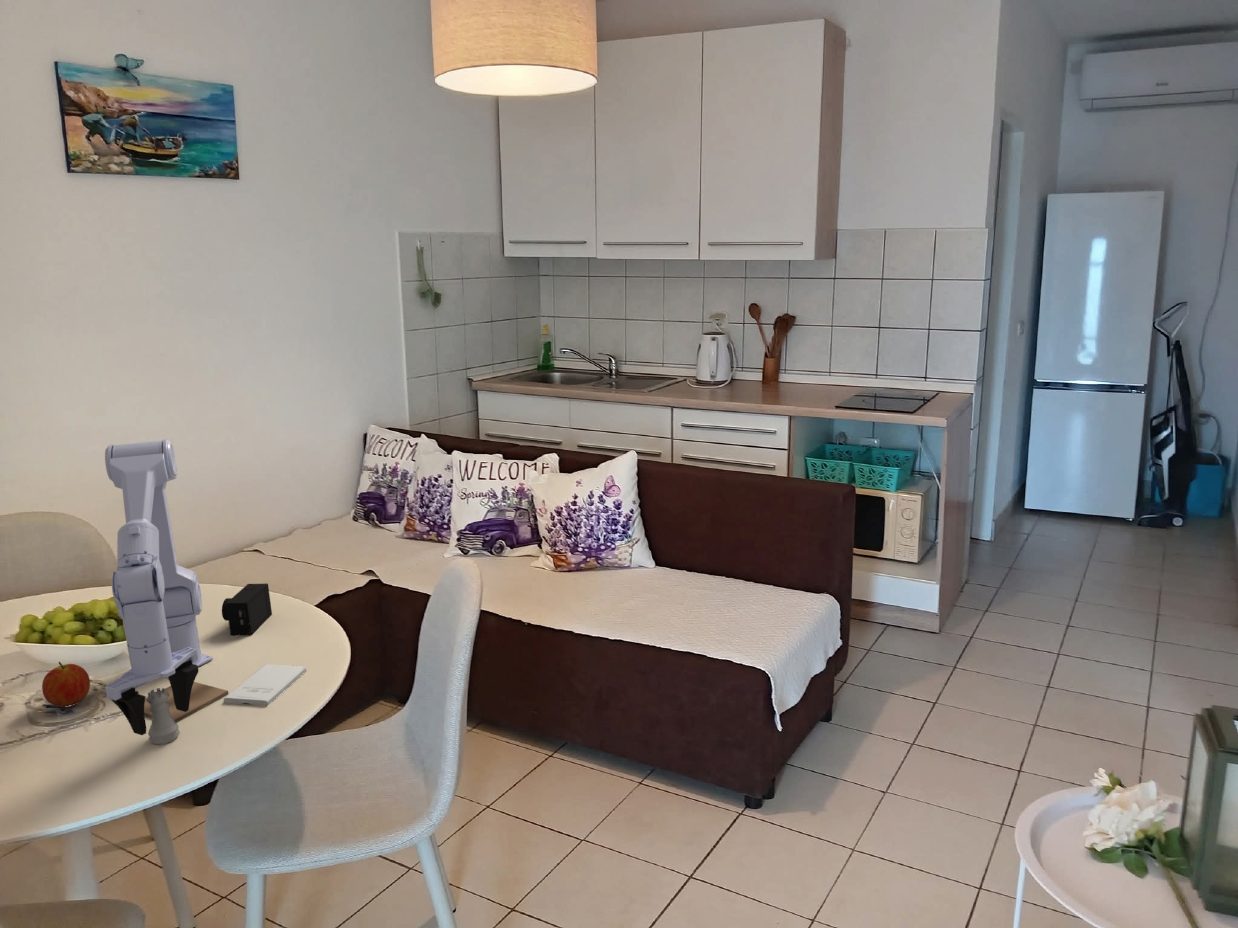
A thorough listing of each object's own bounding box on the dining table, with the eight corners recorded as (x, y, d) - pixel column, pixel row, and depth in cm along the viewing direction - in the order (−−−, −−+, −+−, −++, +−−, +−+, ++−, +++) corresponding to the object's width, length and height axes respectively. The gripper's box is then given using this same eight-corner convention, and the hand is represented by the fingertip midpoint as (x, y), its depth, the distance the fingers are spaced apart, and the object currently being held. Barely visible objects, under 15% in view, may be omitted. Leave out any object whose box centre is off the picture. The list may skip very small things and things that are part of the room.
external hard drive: (306, 674, 168) (268, 708, 156) (265, 671, 170) (224, 705, 158) (305, 666, 168) (267, 699, 156) (264, 663, 169) (223, 696, 157)
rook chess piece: (155, 731, 149) (147, 685, 147) (184, 729, 149) (177, 683, 147) (144, 746, 145) (135, 699, 143) (174, 744, 145) (166, 697, 143)
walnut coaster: (128, 710, 156) (127, 707, 156) (184, 681, 166) (183, 678, 165) (173, 724, 151) (172, 720, 151) (228, 693, 161) (228, 690, 160)
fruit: (89, 690, 164) (81, 648, 162) (97, 704, 159) (88, 661, 157) (43, 703, 160) (34, 660, 158) (49, 719, 154) (40, 674, 152)
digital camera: (246, 614, 194) (242, 583, 193) (272, 614, 194) (268, 582, 193) (224, 636, 184) (219, 602, 183) (251, 635, 184) (247, 602, 182)
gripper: (121, 664, 135) (137, 749, 138) (205, 626, 147) (218, 704, 151) (90, 656, 138) (106, 739, 141) (175, 619, 151) (187, 696, 154)
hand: (161, 721), depth 146 cm, fingers open, 7 cm apart
